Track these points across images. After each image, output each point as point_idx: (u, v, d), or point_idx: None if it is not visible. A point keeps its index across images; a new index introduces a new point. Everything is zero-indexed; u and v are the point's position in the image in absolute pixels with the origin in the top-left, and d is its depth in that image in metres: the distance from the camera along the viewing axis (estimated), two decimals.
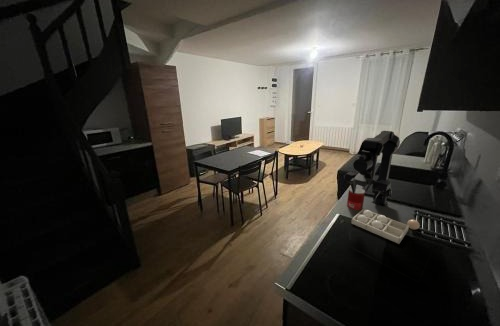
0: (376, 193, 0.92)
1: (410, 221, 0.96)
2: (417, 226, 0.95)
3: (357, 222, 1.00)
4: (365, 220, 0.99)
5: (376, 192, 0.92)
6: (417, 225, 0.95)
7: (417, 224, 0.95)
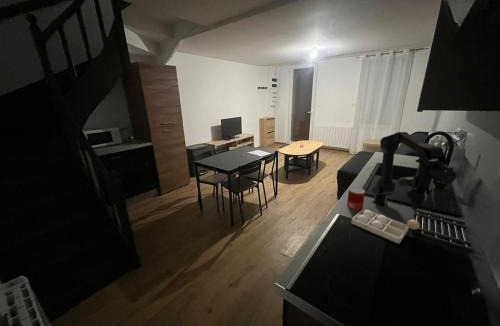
0: None
1: (410, 221, 0.96)
2: (417, 226, 0.95)
3: (357, 222, 1.00)
4: (365, 220, 0.99)
5: None
6: (417, 225, 0.95)
7: (417, 224, 0.95)
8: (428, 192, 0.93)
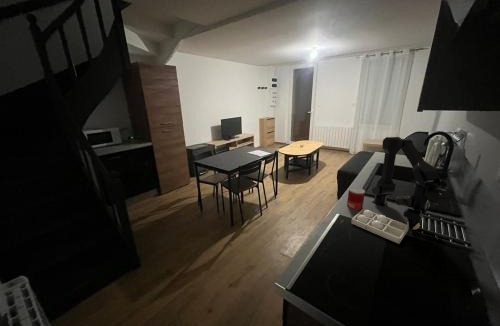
0: None
1: None
2: (417, 226, 0.95)
3: (357, 222, 1.00)
4: (365, 220, 0.99)
5: None
6: (417, 225, 0.95)
7: (417, 224, 0.95)
8: (424, 211, 0.97)
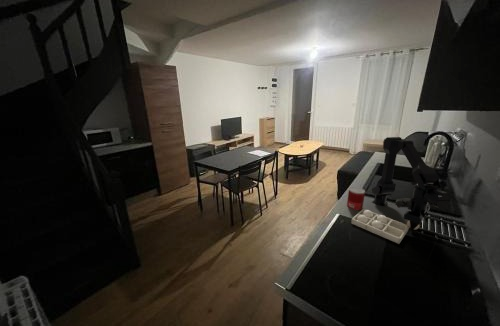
0: None
1: (409, 222, 0.96)
2: (417, 226, 0.95)
3: (357, 222, 1.00)
4: (365, 220, 0.99)
5: None
6: None
7: None
8: (423, 215, 0.95)
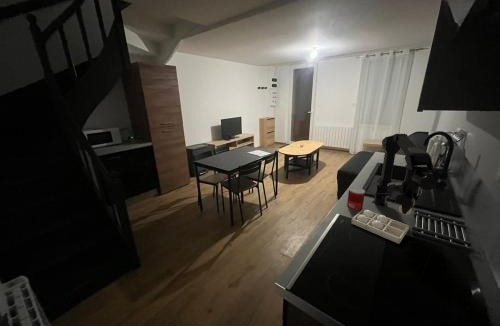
0: None
1: (401, 207, 0.93)
2: (409, 211, 0.91)
3: (357, 222, 1.00)
4: (365, 220, 0.99)
5: None
6: None
7: None
8: (415, 199, 0.92)
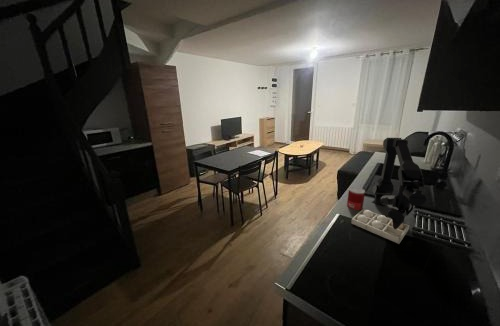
0: None
1: None
2: (401, 227, 0.94)
3: (357, 222, 1.00)
4: (365, 220, 0.99)
5: None
6: (401, 226, 0.94)
7: (401, 225, 0.94)
8: (409, 211, 0.95)
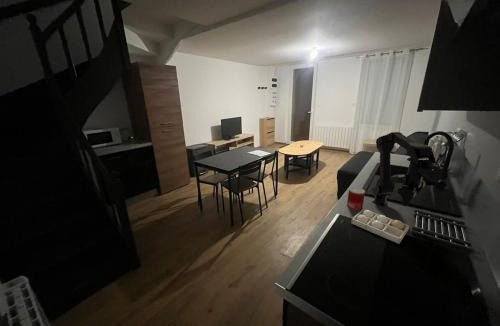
0: None
1: (394, 222, 0.96)
2: (401, 226, 0.94)
3: (357, 222, 1.00)
4: (365, 220, 0.99)
5: None
6: (401, 225, 0.94)
7: (401, 224, 0.94)
8: (419, 189, 0.98)
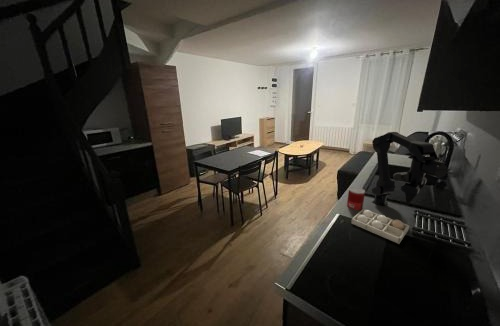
0: None
1: (394, 221, 0.96)
2: (401, 226, 0.94)
3: (357, 222, 1.00)
4: (365, 220, 0.99)
5: None
6: (402, 224, 0.94)
7: (401, 224, 0.94)
8: (421, 186, 0.99)
